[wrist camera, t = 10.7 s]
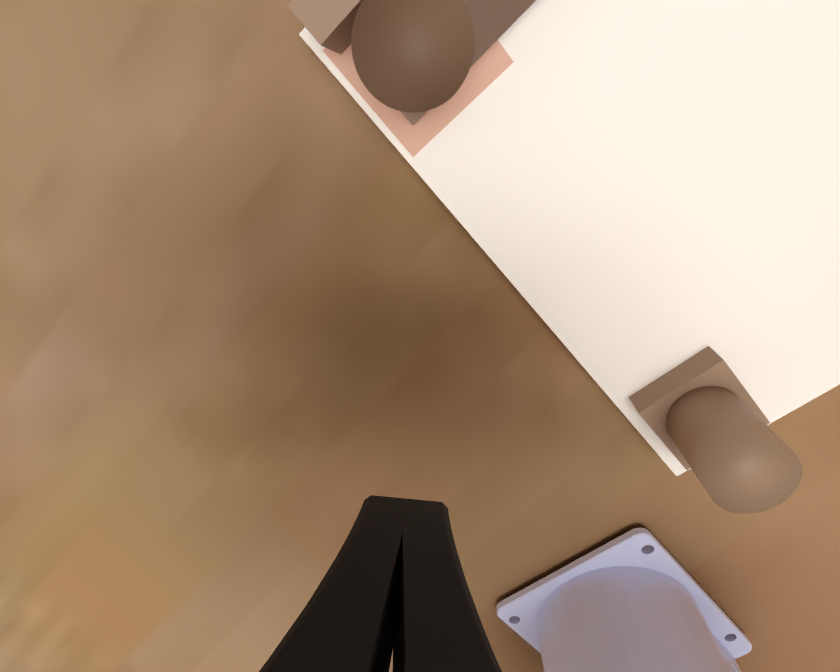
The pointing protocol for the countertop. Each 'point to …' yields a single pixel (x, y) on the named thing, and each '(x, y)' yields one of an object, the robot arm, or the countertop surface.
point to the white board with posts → (654, 206)
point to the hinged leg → (425, 47)
